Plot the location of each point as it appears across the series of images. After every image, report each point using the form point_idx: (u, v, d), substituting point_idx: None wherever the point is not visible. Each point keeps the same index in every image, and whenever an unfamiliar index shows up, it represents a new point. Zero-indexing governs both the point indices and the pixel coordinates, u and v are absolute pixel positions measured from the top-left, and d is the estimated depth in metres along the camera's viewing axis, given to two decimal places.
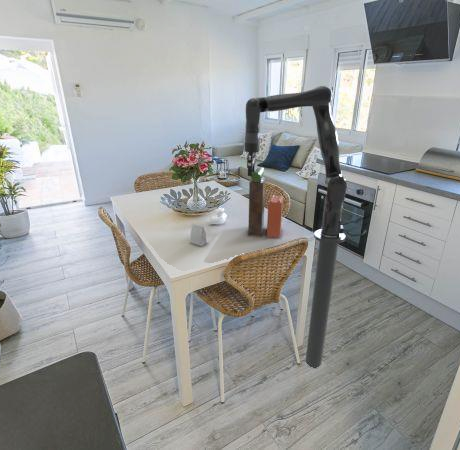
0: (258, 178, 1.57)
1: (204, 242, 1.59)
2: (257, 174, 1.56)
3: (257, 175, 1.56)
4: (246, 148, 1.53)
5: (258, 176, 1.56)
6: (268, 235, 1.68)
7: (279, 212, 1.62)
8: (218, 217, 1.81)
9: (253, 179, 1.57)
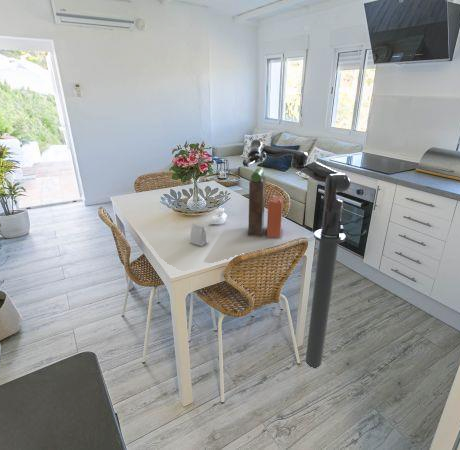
0: (258, 178, 1.57)
1: (204, 242, 1.59)
2: (257, 174, 1.56)
3: (257, 175, 1.56)
4: None
5: (258, 176, 1.56)
6: (268, 235, 1.68)
7: (279, 212, 1.62)
8: (218, 217, 1.81)
9: (253, 179, 1.57)
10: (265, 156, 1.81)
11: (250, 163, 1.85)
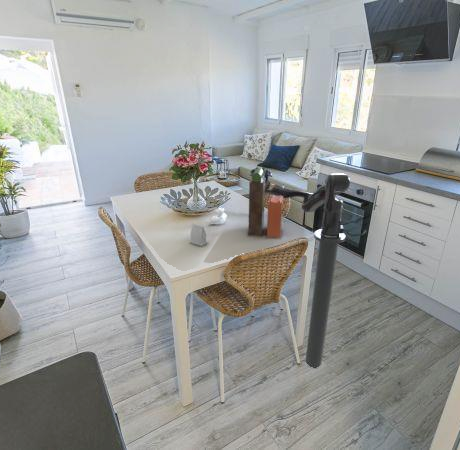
0: (259, 178, 1.57)
1: (204, 242, 1.59)
2: (258, 174, 1.56)
3: (258, 175, 1.56)
4: None
5: (259, 176, 1.56)
6: (268, 235, 1.68)
7: (279, 212, 1.62)
8: (218, 217, 1.81)
9: (254, 179, 1.57)
10: (267, 172, 1.73)
11: None
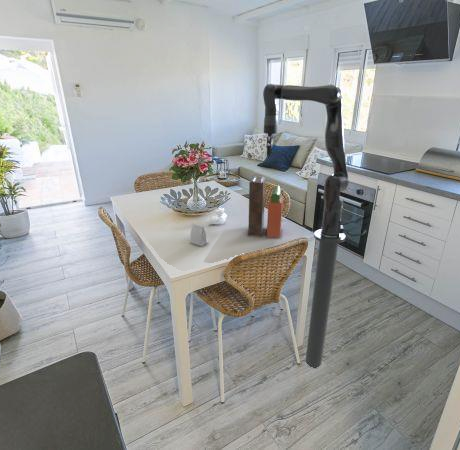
0: (278, 199, 1.59)
1: (204, 242, 1.59)
2: (277, 195, 1.59)
3: (277, 196, 1.59)
4: None
5: (278, 197, 1.59)
6: (268, 235, 1.68)
7: (279, 212, 1.62)
8: (218, 217, 1.81)
9: (273, 200, 1.60)
10: (269, 147, 1.69)
11: None
